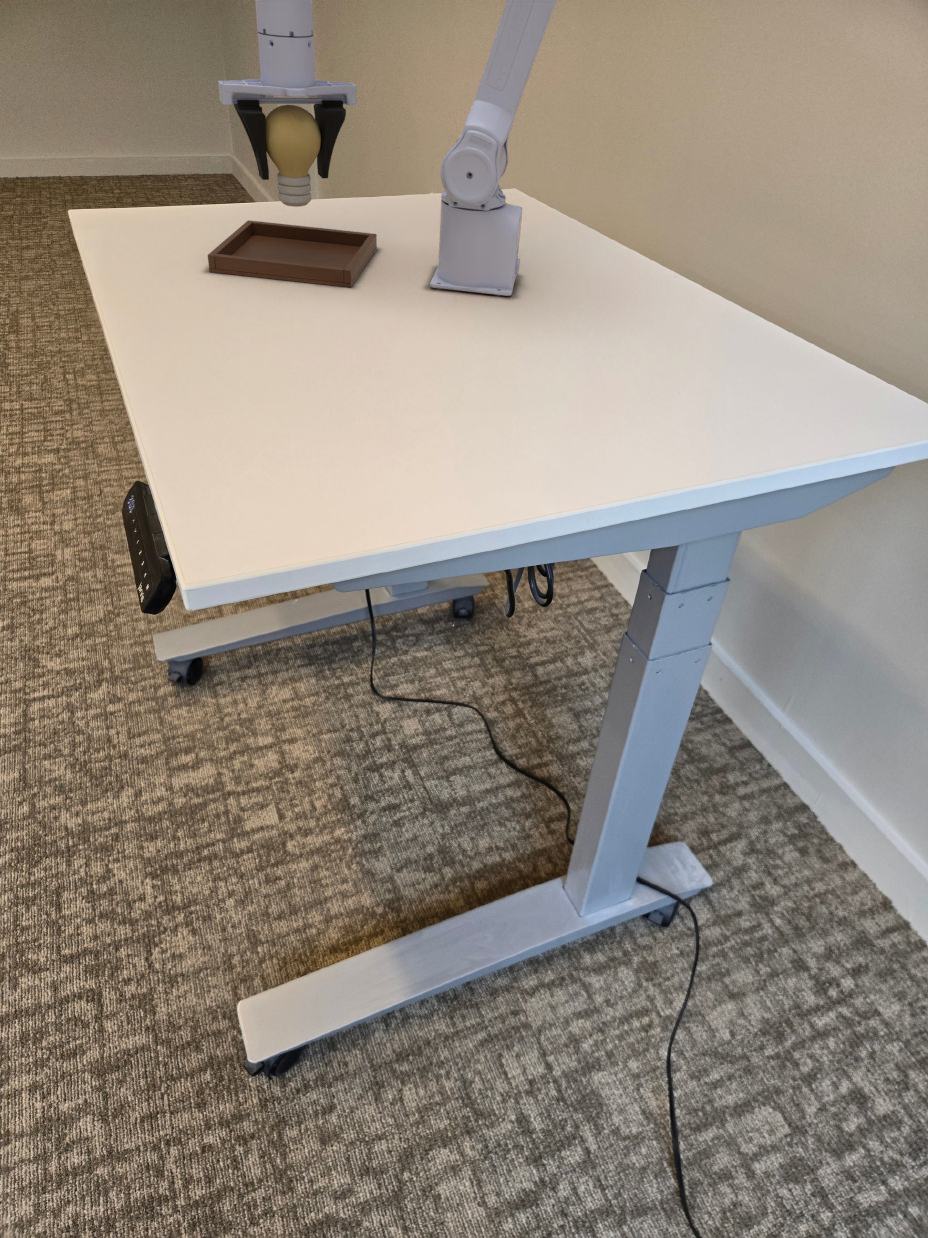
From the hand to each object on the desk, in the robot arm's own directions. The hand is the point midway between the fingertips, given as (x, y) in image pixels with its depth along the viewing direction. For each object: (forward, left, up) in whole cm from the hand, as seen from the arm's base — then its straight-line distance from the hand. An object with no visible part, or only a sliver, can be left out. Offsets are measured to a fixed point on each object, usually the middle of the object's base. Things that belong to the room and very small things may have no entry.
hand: (293, 176), depth 99 cm
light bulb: (0, 0, -3) cm, 3 cm away
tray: (0, 0, -9) cm, 9 cm away
